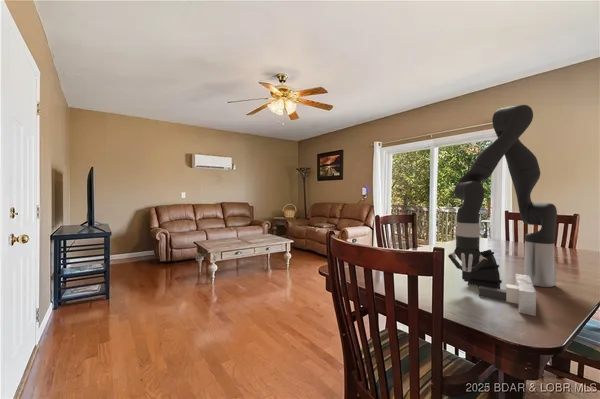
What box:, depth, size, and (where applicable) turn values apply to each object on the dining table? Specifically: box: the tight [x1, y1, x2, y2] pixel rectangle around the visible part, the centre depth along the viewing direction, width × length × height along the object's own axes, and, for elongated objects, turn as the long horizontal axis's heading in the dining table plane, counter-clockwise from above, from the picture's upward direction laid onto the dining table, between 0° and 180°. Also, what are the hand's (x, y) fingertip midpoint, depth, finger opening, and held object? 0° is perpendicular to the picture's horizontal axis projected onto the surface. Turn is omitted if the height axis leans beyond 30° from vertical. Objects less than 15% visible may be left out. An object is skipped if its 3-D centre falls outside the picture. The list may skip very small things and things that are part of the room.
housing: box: [514, 273, 537, 317], centre depth 94 cm, size 4×22×7 cm, turn 144°
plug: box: [478, 283, 518, 305], centre depth 98 cm, size 13×4×5 cm, turn 55°
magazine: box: [466, 249, 503, 289], centre depth 111 cm, size 4×13×15 cm, turn 33°
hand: (466, 281), depth 103 cm, fingers closed
